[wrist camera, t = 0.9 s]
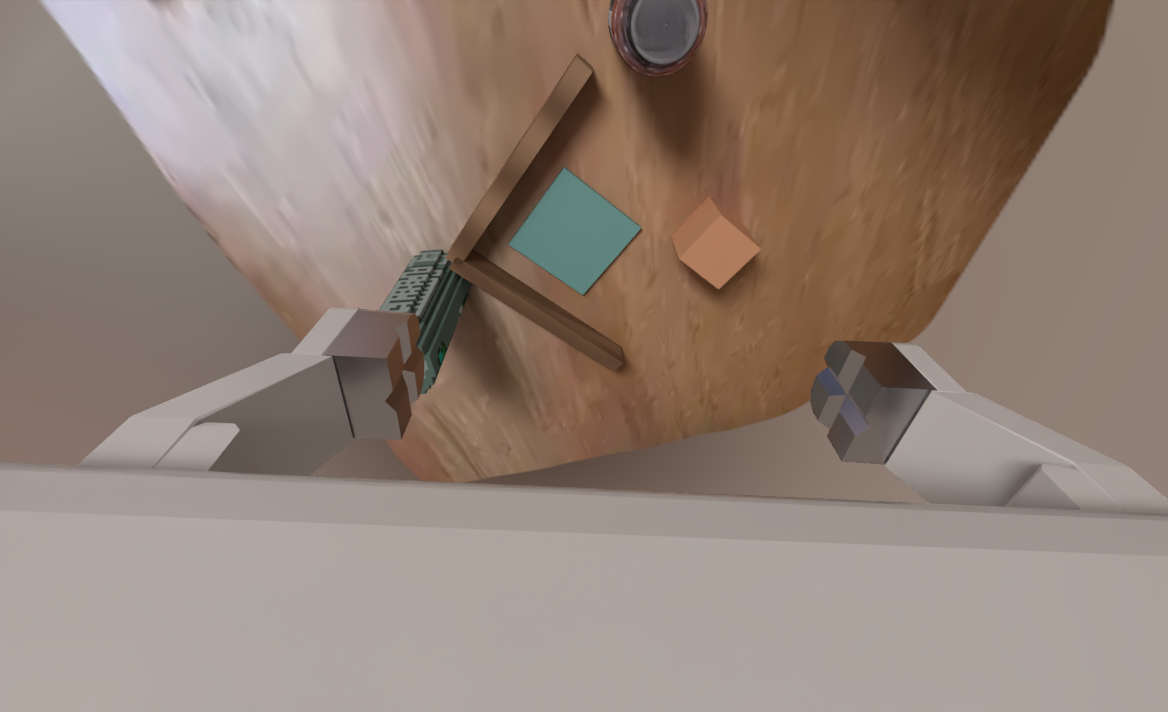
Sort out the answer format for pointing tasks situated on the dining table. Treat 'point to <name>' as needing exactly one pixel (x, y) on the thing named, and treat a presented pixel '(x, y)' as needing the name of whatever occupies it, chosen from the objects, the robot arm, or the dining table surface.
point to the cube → (714, 243)
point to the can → (430, 306)
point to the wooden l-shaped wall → (461, 250)
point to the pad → (574, 232)
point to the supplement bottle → (657, 33)
